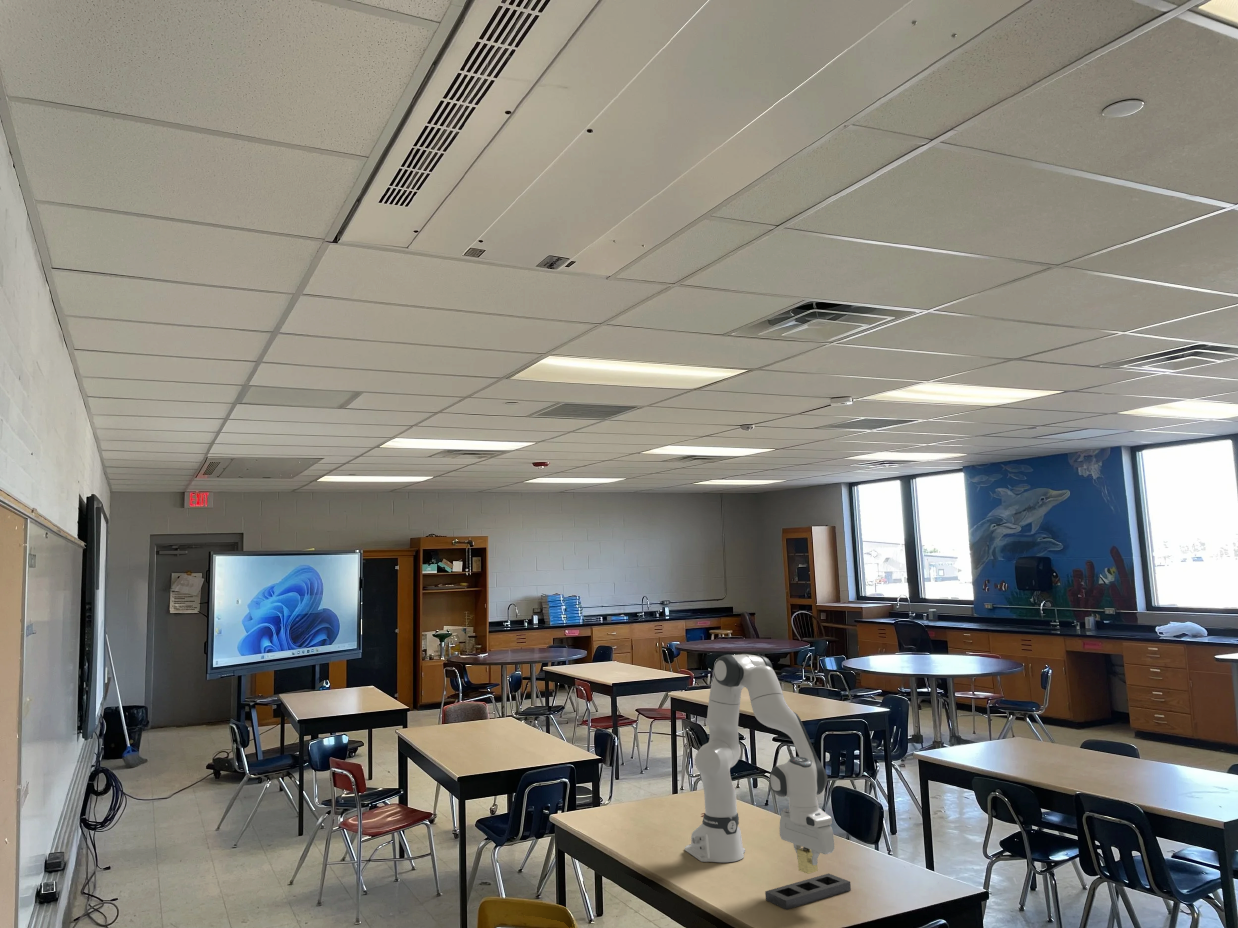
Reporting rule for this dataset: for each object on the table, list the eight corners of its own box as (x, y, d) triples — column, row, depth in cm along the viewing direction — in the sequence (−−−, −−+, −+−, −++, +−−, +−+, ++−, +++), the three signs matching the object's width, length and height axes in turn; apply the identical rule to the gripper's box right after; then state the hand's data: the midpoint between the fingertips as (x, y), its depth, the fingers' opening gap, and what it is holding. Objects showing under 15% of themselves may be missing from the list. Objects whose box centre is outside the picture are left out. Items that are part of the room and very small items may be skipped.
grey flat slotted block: (765, 899, 245) (765, 891, 245) (829, 881, 258) (828, 873, 258) (786, 909, 237) (786, 900, 237) (850, 890, 250) (850, 881, 251)
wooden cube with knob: (798, 870, 249) (797, 847, 250) (808, 867, 251) (806, 844, 252) (808, 873, 246) (806, 850, 247) (817, 870, 248) (816, 848, 249)
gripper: (773, 808, 258) (776, 855, 256) (820, 823, 241) (824, 873, 239) (788, 805, 261) (791, 851, 259) (836, 819, 244) (839, 868, 242)
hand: (807, 861), depth 249 cm, fingers closed on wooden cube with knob, 4 cm apart
